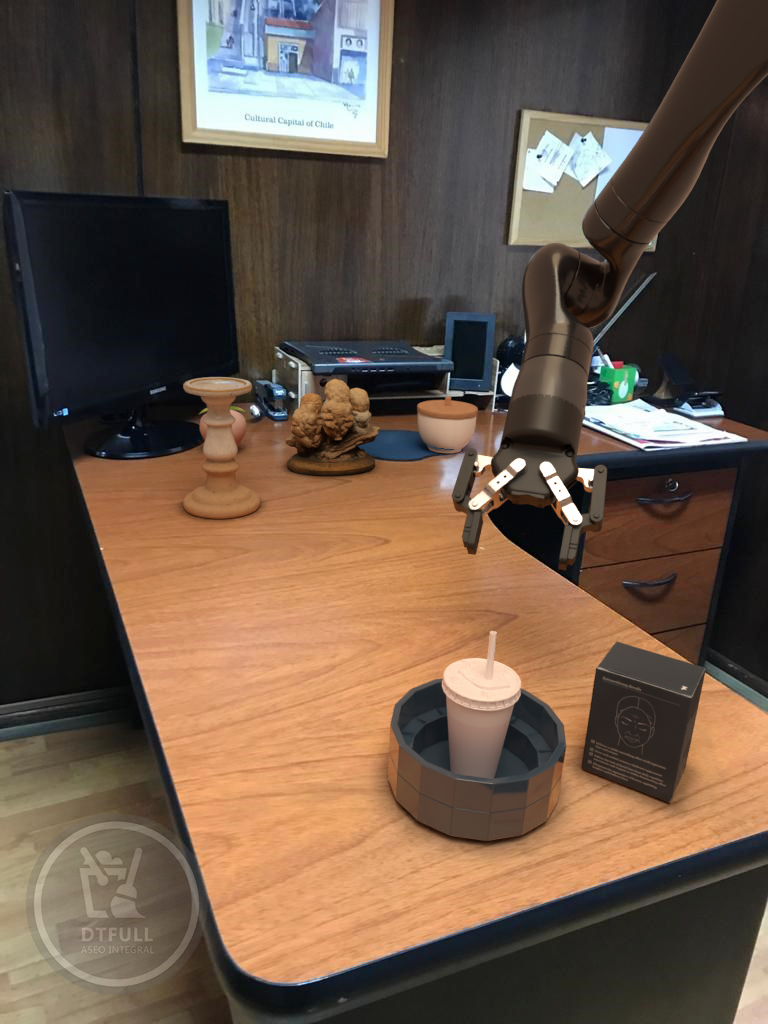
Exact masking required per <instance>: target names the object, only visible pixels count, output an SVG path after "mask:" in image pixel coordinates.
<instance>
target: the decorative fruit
mask: <svg viewBox="0 0 768 1024" xmlns="http://www.w3.org/2000/svg"><path fill="white" fill-rule="evenodd" d="M207 412H208V408H207V407H205V408H204V409H202V410H201V411H200V412H199V413H198V415H202V414H203V415H202V416H201V418H200V421H199V432H200V435H201V437H202V439H203V440H204V441H205V438H206V432H207V425H206V424H205V423H204V422H203V418H204V417H205V416H206V415H207ZM230 413H231V415H232V416H233V417H234V418H235V423H233V424H232V431H233V435H234V439H235V442H236V444H237V445H239V444H240V443H241V442H242V441H243V439H244V437H245V435H246V431H247V421H246V418H245V416H244V414H245V415H247V414H248V413H247V412H246V411H245V410H244V409H243V408H241V407H238V406H234V405H233V406H232V405H231V406H230Z"/></svg>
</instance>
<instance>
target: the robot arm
mask: <svg viewBox="0 0 768 1024" xmlns="http://www.w3.org/2000/svg"><path fill="white" fill-rule="evenodd" d="M767 76H768V0H716V1H715V3H714V6H713V7H712V10H711V11H710V13H709V15H708V17H707V18H706V21H705V22H704V24H703V27H702V28H701V30H700V32H699V34H698V35H697V38H696V40H695V41H694V43H693V45H692V47H691V49H690V50H689V52H688V54H687V56H686V58H685V60H684V61H683V63H682V65H681V67H680V69H679V70H678V72H677V74H676V76H675V77H674V80H673V81H672V83H671V85H670V87H669V89H668V90H667V92H666V93H665V96H664V97H663V99H662V100H661V103H660V105H659V106H658V108H657V110H656V111H655V113H654V114H653V116H652V117H651V119H650V121H649V123H648V124H647V126H646V127H645V129H644V130H643V131H642V133H641V135H640V136H639V138H638V140H637V141H636V143H635V144H634V146H633V147H632V148H631V150H630V151H629V153H628V154H627V155H626V157H625V159H624V160H623V161H622V162H621V164H620V165H619V166H618V168H617V169H616V170H615V172H614V173H613V175H611V178H610V179H609V180H608V182H607V183H606V184H605V185H604V187H603V188H602V190H600V193H598V195H597V197H596V198H595V199H594V200H593V202H592V203H591V204H590V206H589V208H587V211H586V212H585V214H584V216H583V218H582V222H581V231H582V233H583V236H584V237H585V239H586V241H587V242H588V244H589V245H590V246H591V247H592V248H593V249H594V250H595V251H596V252H598V254H599V255H600V256H602V257H603V258H604V260H603V261H599V260H597V259H595V258H594V257H591V256H589V255H587V254H585V253H583V252H581V251H579V250H577V249H575V248H574V247H571V246H569V245H567V244H564V243H561V242H551V243H547V244H545V245H542V246H541V247H540V248H539V249H537V250H536V251H535V252H534V253H533V254H532V255H531V257H530V259H529V260H528V262H527V264H526V267H525V269H524V273H523V277H522V282H521V283H522V284H521V300H522V309H523V310H522V311H523V318H524V320H523V321H524V329H525V330H524V332H525V343H524V348H523V353H522V357H521V362H520V366H519V370H518V374H517V375H516V379H515V381H514V384H513V387H512V389H511V390H512V391H511V395H510V399H509V403H508V408H507V412H506V417H505V422H504V426H503V430H502V435H501V440H500V444H499V447H498V450H497V452H496V453H495V454H494V455H493V456H489V455H484V454H478V450H477V449H475V448H472V447H470V448H468V449H467V450H465V452H464V454H463V458H462V461H461V465H460V468H459V471H458V474H457V477H456V479H455V483H454V486H453V490H452V493H451V499H452V503H453V506H454V507H453V508H454V510H455V511H457V513H464V514H465V515H466V517H465V522H464V525H463V530H462V535H461V539H462V544H463V548H466V551H467V554H468V555H473V556H476V555H477V552H478V548H479V543H480V538H481V534H482V530H483V525H484V519H483V518H484V517H485V516H487V515H488V514H489V513H490V512H492V511H493V510H496V509H498V508H499V507H501V506H502V505H503V504H504V503H506V502H507V501H508V500H509V501H510V502H511V503H512V504H514V505H531V506H534V507H536V508H541V509H545V506H546V507H547V506H551V507H552V509H553V511H554V513H556V516H557V517H558V518H559V519H560V520H561V521H562V523H563V524H564V529H563V535H562V541H561V546H560V551H559V557H558V570H562V571H567V568H568V565H569V566H574V564H575V562H576V559H577V556H578V548H579V543H580V537H581V535H582V534H584V533H588V532H592V533H599V532H601V530H602V528H603V520H604V513H605V504H606V503H605V502H606V501H605V500H606V491H607V479H608V468H607V466H606V465H604V464H598V465H595V466H594V468H584V467H583V468H581V467H579V466H578V464H577V456H578V452H579V451H578V450H579V447H580V440H581V434H582V430H583V429H582V428H583V422H584V420H585V418H586V407H587V400H588V381H589V376H590V372H591V371H590V370H591V364H592V360H593V352H594V343H595V342H594V335H593V334H592V332H591V330H590V329H592V328H596V327H598V326H600V325H602V324H604V323H605V322H607V320H608V319H609V318H610V317H611V316H612V315H613V313H614V312H615V310H616V308H617V305H618V303H619V301H620V299H621V296H622V294H623V291H624V289H625V288H626V284H627V283H628V280H629V278H630V277H631V275H632V273H633V272H634V269H635V267H636V265H637V263H638V261H639V260H640V258H641V257H642V255H643V254H644V251H645V250H646V249H647V247H648V246H649V245H650V244H651V242H653V240H654V239H655V238H656V237H657V235H658V234H659V233H660V232H661V231H662V229H663V228H665V226H666V225H667V223H668V222H669V221H670V220H671V219H672V218H673V216H674V215H675V214H676V213H677V212H678V210H679V209H680V208H681V207H682V205H683V203H685V201H686V199H687V198H688V197H689V195H690V194H691V192H692V191H693V188H694V187H695V185H696V183H697V180H698V179H699V177H700V175H701V172H702V170H703V168H704V166H705V164H706V162H707V160H708V157H709V156H710V155H709V154H710V152H711V150H712V148H713V146H714V144H715V142H716V140H717V138H718V136H719V135H720V133H721V132H722V130H723V128H724V126H725V125H726V123H727V122H728V120H730V118H731V117H732V116H733V114H734V113H735V112H736V110H737V108H738V107H739V106H740V105H741V104H742V102H743V101H744V100H745V98H747V97H748V96H749V95H750V93H751V92H752V91H753V90H754V89H756V87H757V86H758V85H759V84H760V83H761V82H762V81H763V80H764V79H765V78H766V77H767ZM489 470H491V473H492V474H493V476H494V478H492V479H491V480H490V481H489V482H487V483H486V484H485V486H484V488H483V489H482V490H481V491H480V492H479V493H477V494H476V495H475V496H474V497H471V494H472V491H473V487H474V484H475V481H476V478H480V477H482V476H483V475H484V473H485V472H486V471H489ZM577 482H580V483H582V485H583V489H584V491H585V492H587V493H591V497H590V498H591V499H590V500H591V501H590V510H589V512H586V513H580V511H579V510H578V508H577V506H576V504H575V503H574V501H573V499H572V495H571V494H570V493H569V490H570V489H572V487H574V486H575V485H576V484H577Z"/></svg>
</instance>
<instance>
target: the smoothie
mask: <svg viewBox="0 0 768 1024" xmlns="http://www.w3.org/2000/svg"><path fill="white" fill-rule="evenodd" d="M497 637H498V632H497V631H495V630H491V631H489V638H488V644H487V645H488V646H487V657H486V658H483V657H468V658H463V659H462V658H461V659H459V660H456V661H454V662H452V663H450V664H448V665H447V666H446V668H445V669H444V671H443V674H442V678H443V680H442V688H443V691H444V693H445V694H446V704H447V719H448V736H449V753H450V770H451V772H453V773H455V774H459V775H467V776H474V777H482V778H489V779H494V777H495V774H496V770H497V766H498V763H499V759H500V755H501V751H502V748H503V744H504V740H505V736H506V733H507V729H508V725H509V722H510V718H511V715H512V711H513V707H514V704H515V703H516V702H517V701H518V699H519V697H520V695H521V691H520V689H521V688H522V680H521V677H520V676H519V674H518V673H517V672H516V671H515V670H514V669H512V668H511V667H510V666H508V665H506V664H504V663H502V662H499V661H497V660H495V655H496V645H497Z"/></svg>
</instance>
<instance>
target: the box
mask: <svg viewBox="0 0 768 1024" xmlns="http://www.w3.org/2000/svg"><path fill="white" fill-rule="evenodd" d="M706 671H707V670H706V667H705V666H701V665H699V664H695V663H691V662H688V661H683V660H680V659H677V658H675V657H674V658H673V657H670V656H668V655H663V654H660V653H658V652H654V651H650V650H647V649H643V648H640V647H637V646H634V645H631V644H630V645H629V644H627V643H624V642H620V641H616V642H614V644H612V647H611V648H610V649H609V650H608V652H607V653H606V654H605V656H604V657H603V659H602V660H601V661H600V662H599V664H598V665H597V666H596V668H595V671H594V672H595V673H594V678H593V684H592V686H593V687H592V692H591V700H590V706H589V713H588V718H587V726H586V733H585V740H584V745H583V746H584V747H583V753H582V760H581V769H582V770H583V771H586V772H588V773H592V774H595V775H598V776H599V777H602V778H605V779H607V780H610V781H612V782H615V783H618V784H621V785H623V786H625V787H628V788H631V789H633V790H636V791H638V792H641V793H643V794H646V795H648V796H650V797H654V798H656V799H659V800H661V801H664V802H666V803H671V802H672V800H673V798H674V795H675V793H676V791H677V788H678V786H679V784H680V781H681V779H682V776H683V775H684V773H685V769H686V768H687V762H688V758H689V753H690V749H691V744H692V739H693V733H694V728H695V726H696V725H695V723H696V719H697V715H698V709H699V704H700V700H701V695H702V692H703V691H702V690H703V685H704V680H705V676H706Z"/></svg>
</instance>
